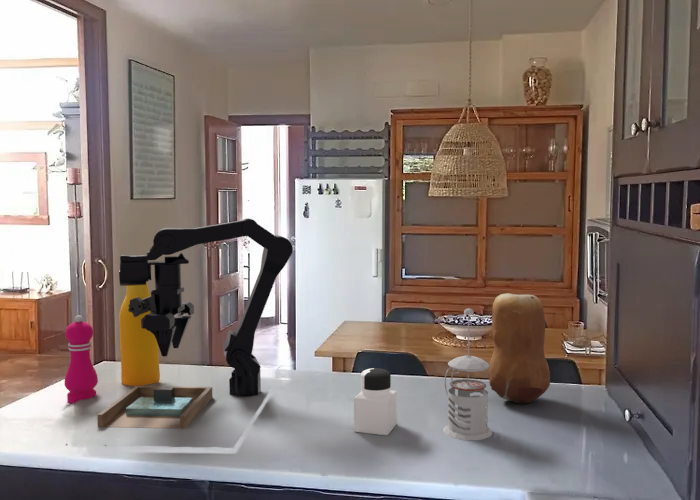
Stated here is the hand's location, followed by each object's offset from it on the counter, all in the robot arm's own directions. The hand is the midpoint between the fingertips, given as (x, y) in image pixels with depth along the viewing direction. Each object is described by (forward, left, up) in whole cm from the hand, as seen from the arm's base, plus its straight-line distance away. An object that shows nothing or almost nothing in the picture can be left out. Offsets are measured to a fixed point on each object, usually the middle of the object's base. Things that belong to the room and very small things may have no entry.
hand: (170, 352), depth 151 cm
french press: (-65, +13, -12) cm, 67 cm away
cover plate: (0, +7, -11) cm, 13 cm away
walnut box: (0, +8, -12) cm, 15 cm away
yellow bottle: (+13, -15, -12) cm, 23 cm away
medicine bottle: (-47, +13, -12) cm, 50 cm away
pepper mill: (+22, -2, -12) cm, 25 cm away
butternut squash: (-79, -6, -12) cm, 80 cm away
